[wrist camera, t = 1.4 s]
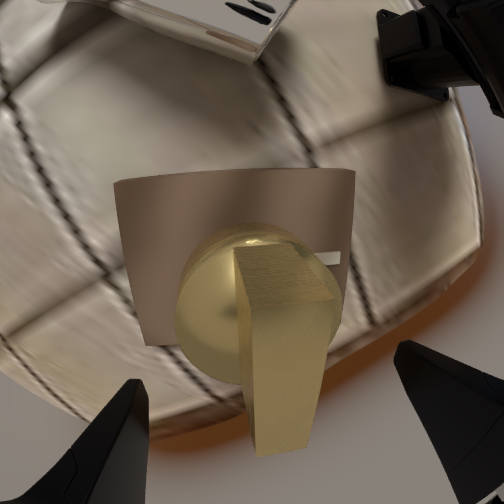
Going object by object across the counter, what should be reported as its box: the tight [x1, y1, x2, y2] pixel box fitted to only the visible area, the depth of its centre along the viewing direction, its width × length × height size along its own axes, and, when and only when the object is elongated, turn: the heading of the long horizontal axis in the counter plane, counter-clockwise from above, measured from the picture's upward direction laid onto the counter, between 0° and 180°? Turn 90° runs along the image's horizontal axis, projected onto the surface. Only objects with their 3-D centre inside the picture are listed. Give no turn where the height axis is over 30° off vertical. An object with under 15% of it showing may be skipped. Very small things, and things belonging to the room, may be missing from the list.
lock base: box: [113, 168, 355, 346], centre depth 16 cm, size 14×11×4 cm
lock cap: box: [175, 222, 342, 457], centre depth 11 cm, size 8×7×7 cm
